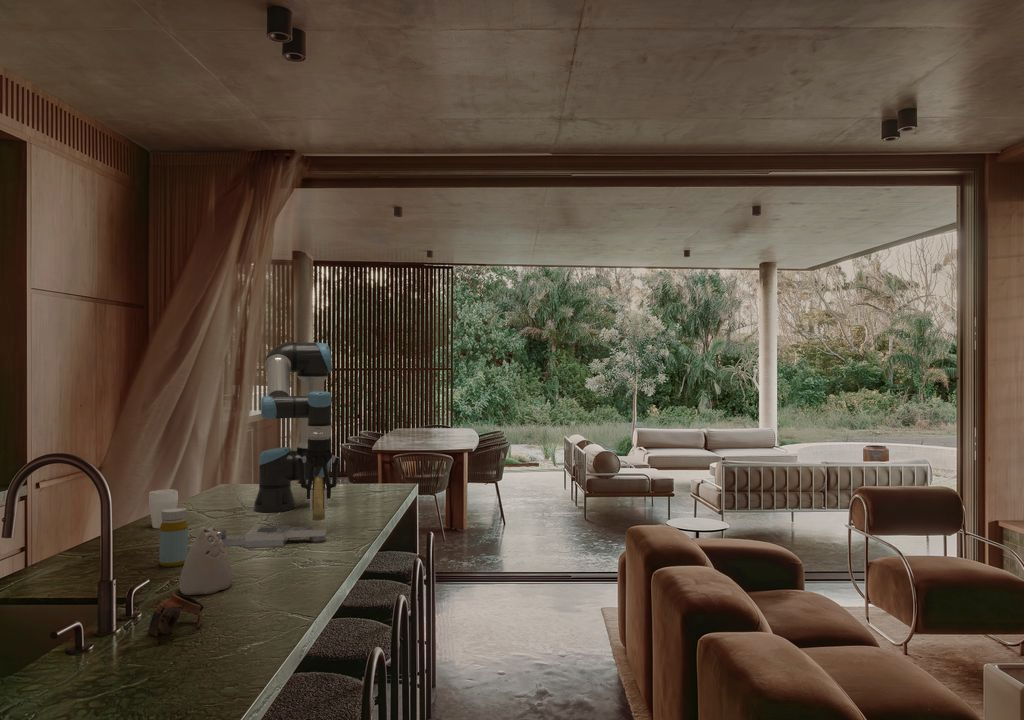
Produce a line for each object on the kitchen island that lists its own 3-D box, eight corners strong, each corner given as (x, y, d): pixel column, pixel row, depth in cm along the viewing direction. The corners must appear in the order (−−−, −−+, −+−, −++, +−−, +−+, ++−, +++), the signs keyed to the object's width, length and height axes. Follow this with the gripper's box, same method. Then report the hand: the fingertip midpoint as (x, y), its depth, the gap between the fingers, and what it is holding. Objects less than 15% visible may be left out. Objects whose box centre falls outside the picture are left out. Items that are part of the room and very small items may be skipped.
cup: (183, 523, 240) (183, 489, 240) (167, 529, 231) (168, 494, 231) (159, 523, 241) (159, 489, 241) (142, 529, 232) (143, 493, 232)
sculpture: (227, 594, 165) (227, 531, 165) (173, 598, 162) (174, 534, 162) (236, 578, 177) (236, 520, 177) (186, 581, 175) (187, 522, 175)
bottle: (193, 561, 192) (193, 508, 193) (173, 568, 186) (174, 513, 186) (173, 559, 195) (174, 506, 195) (153, 566, 188) (154, 511, 188)
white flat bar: (213, 540, 217) (213, 527, 217) (327, 536, 222) (327, 524, 222) (203, 549, 206) (203, 535, 206) (323, 545, 211) (323, 531, 211)
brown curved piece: (150, 626, 145) (172, 588, 148) (192, 644, 146) (213, 606, 149) (134, 632, 134) (158, 591, 137) (179, 651, 135) (202, 610, 138)
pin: (313, 517, 229) (313, 476, 229) (325, 517, 230) (325, 475, 230) (311, 520, 225) (311, 478, 225) (324, 520, 226) (324, 477, 226)
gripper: (291, 439, 222) (290, 511, 223) (344, 439, 225) (343, 510, 225) (294, 437, 230) (294, 506, 230) (346, 436, 232) (345, 505, 233)
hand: (318, 508), depth 228 cm, fingers closed on pin, 4 cm apart
